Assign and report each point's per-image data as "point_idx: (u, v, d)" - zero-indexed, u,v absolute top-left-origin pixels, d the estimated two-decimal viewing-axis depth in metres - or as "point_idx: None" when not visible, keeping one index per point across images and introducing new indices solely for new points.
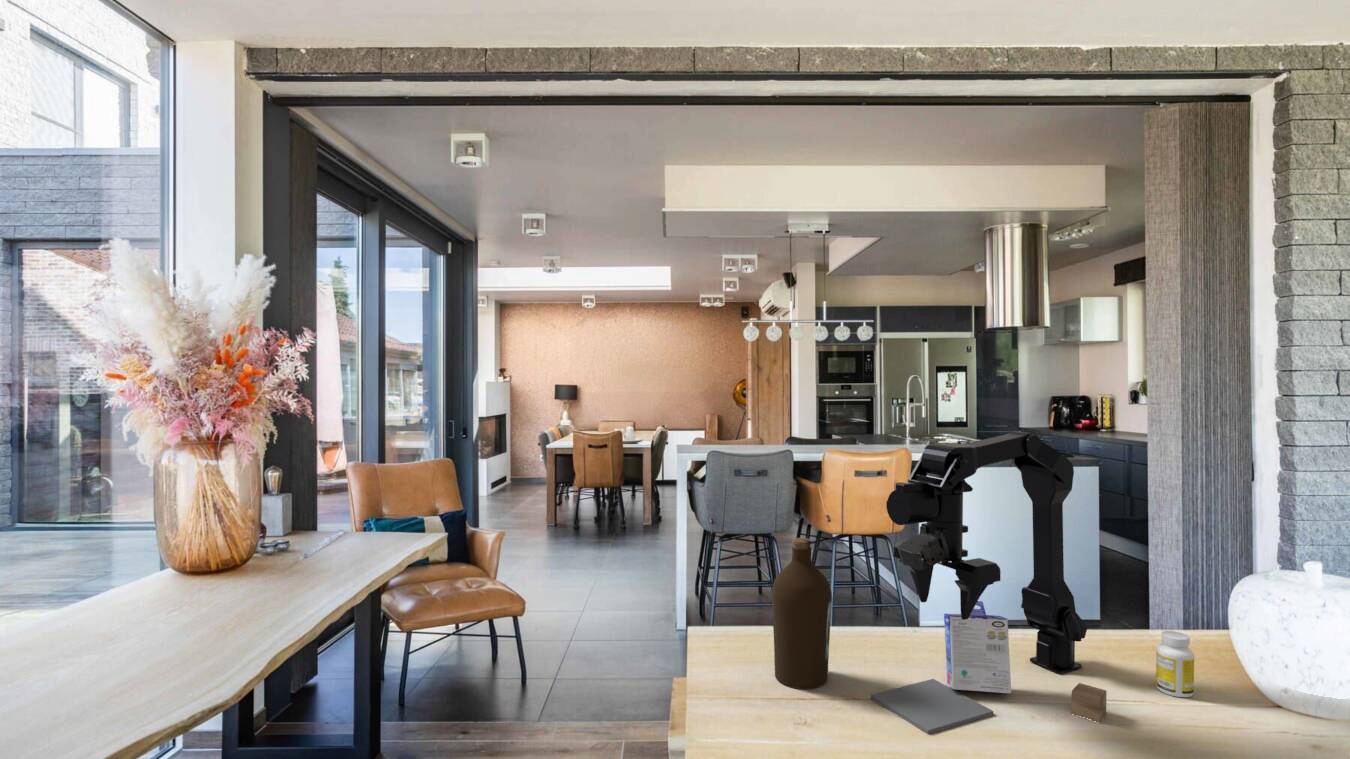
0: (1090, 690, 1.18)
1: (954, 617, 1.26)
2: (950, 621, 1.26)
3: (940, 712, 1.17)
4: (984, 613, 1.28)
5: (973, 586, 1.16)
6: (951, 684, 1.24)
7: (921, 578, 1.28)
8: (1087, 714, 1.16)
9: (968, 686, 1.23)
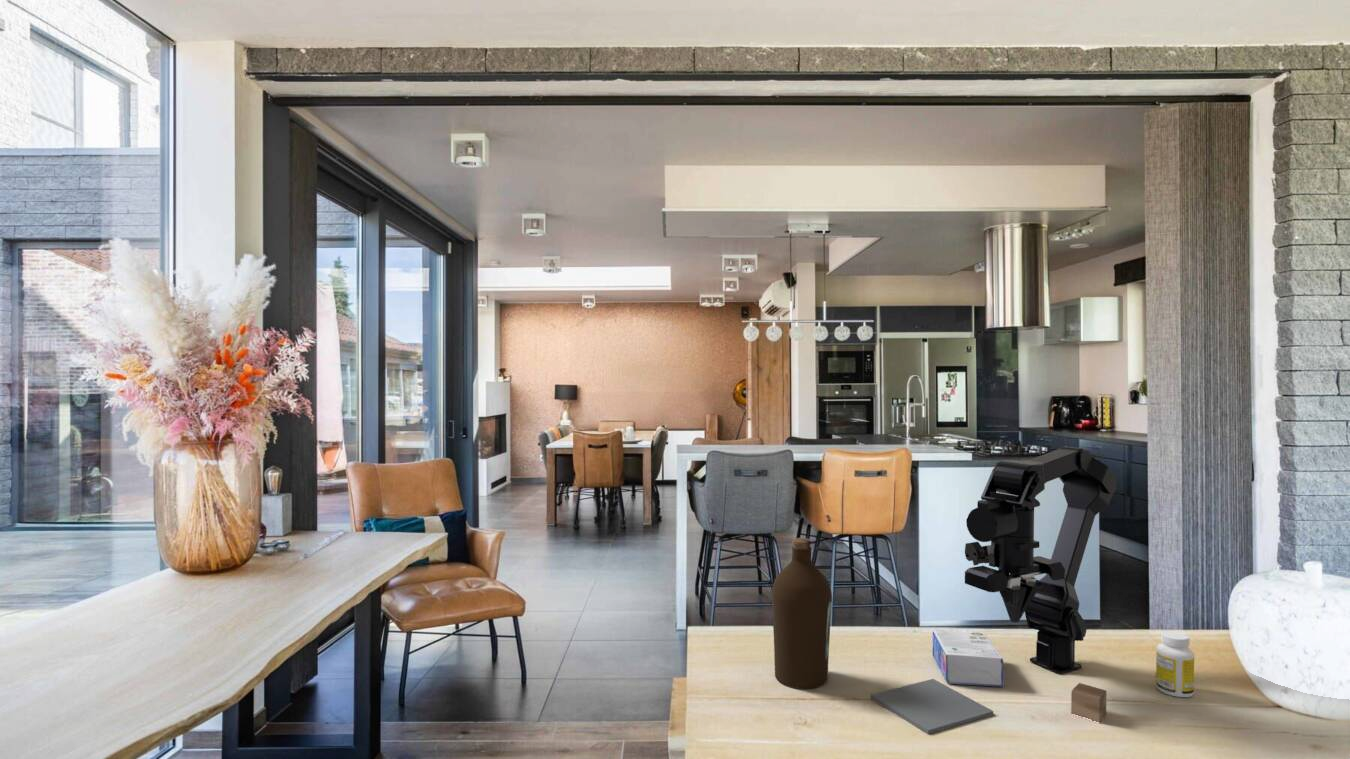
0: (1090, 690, 1.18)
1: (937, 630, 1.40)
2: (934, 631, 1.39)
3: (940, 712, 1.17)
4: None
5: None
6: (945, 656, 1.29)
7: None
8: (1087, 714, 1.16)
9: (961, 654, 1.29)
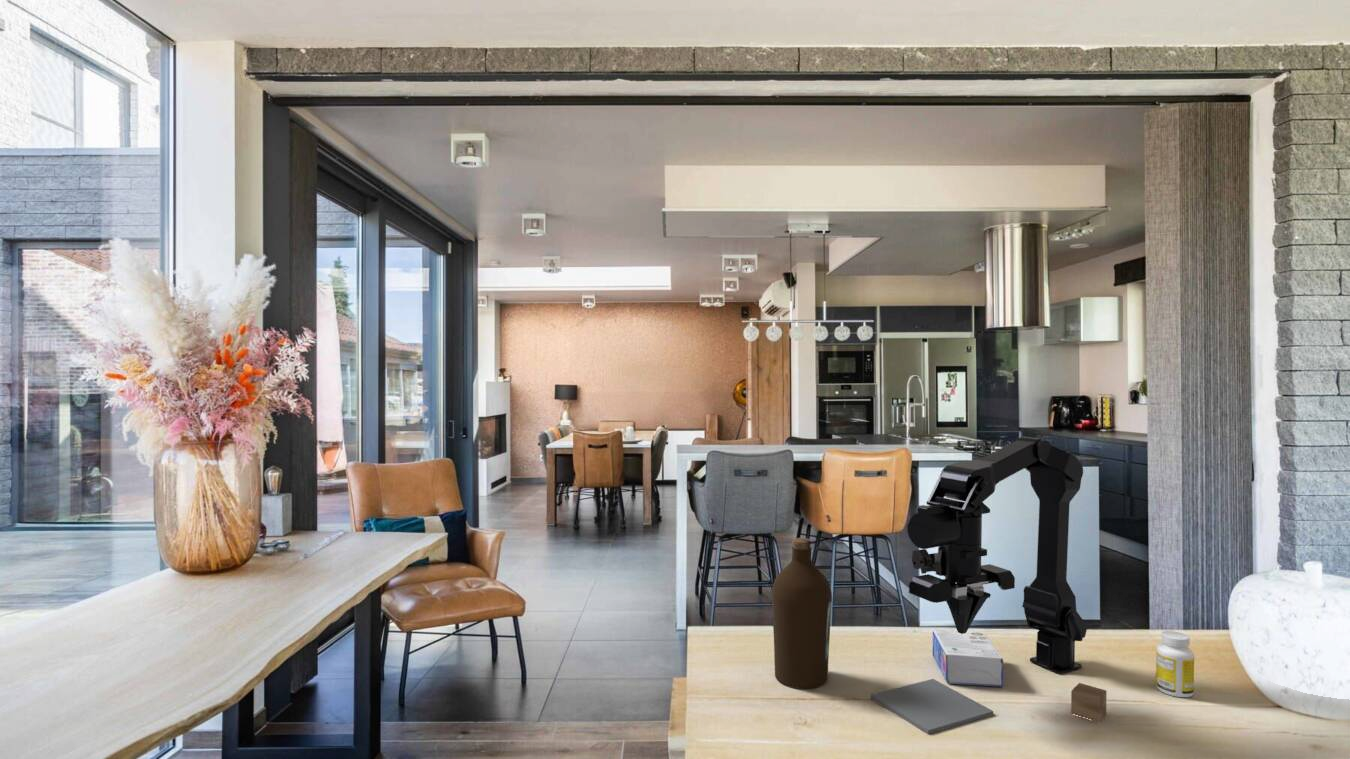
0: (1090, 690, 1.18)
1: (937, 630, 1.40)
2: (934, 631, 1.39)
3: (940, 712, 1.17)
4: None
5: None
6: (945, 656, 1.29)
7: None
8: (1087, 714, 1.16)
9: (961, 654, 1.29)
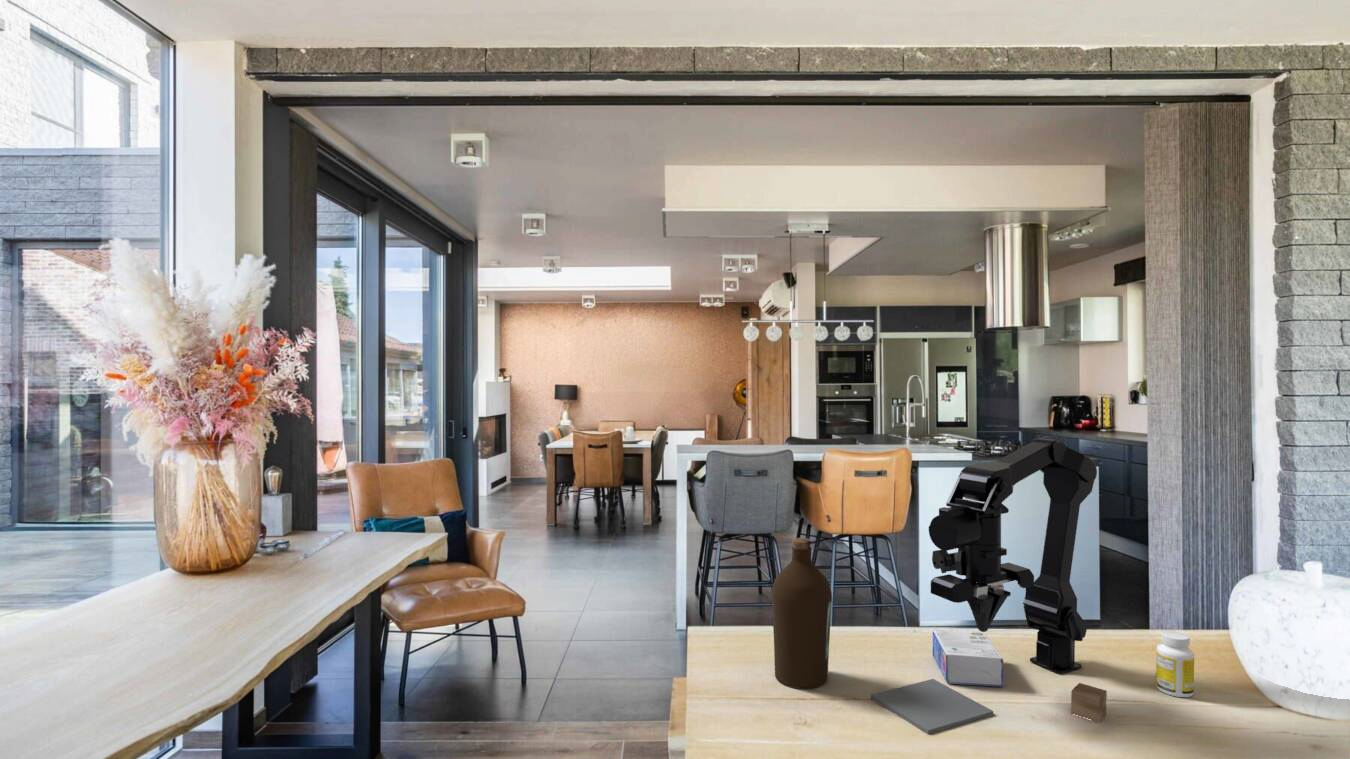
0: (1090, 690, 1.18)
1: (937, 630, 1.40)
2: (934, 631, 1.39)
3: (940, 712, 1.17)
4: None
5: None
6: (945, 656, 1.29)
7: None
8: (1087, 714, 1.16)
9: (961, 654, 1.29)
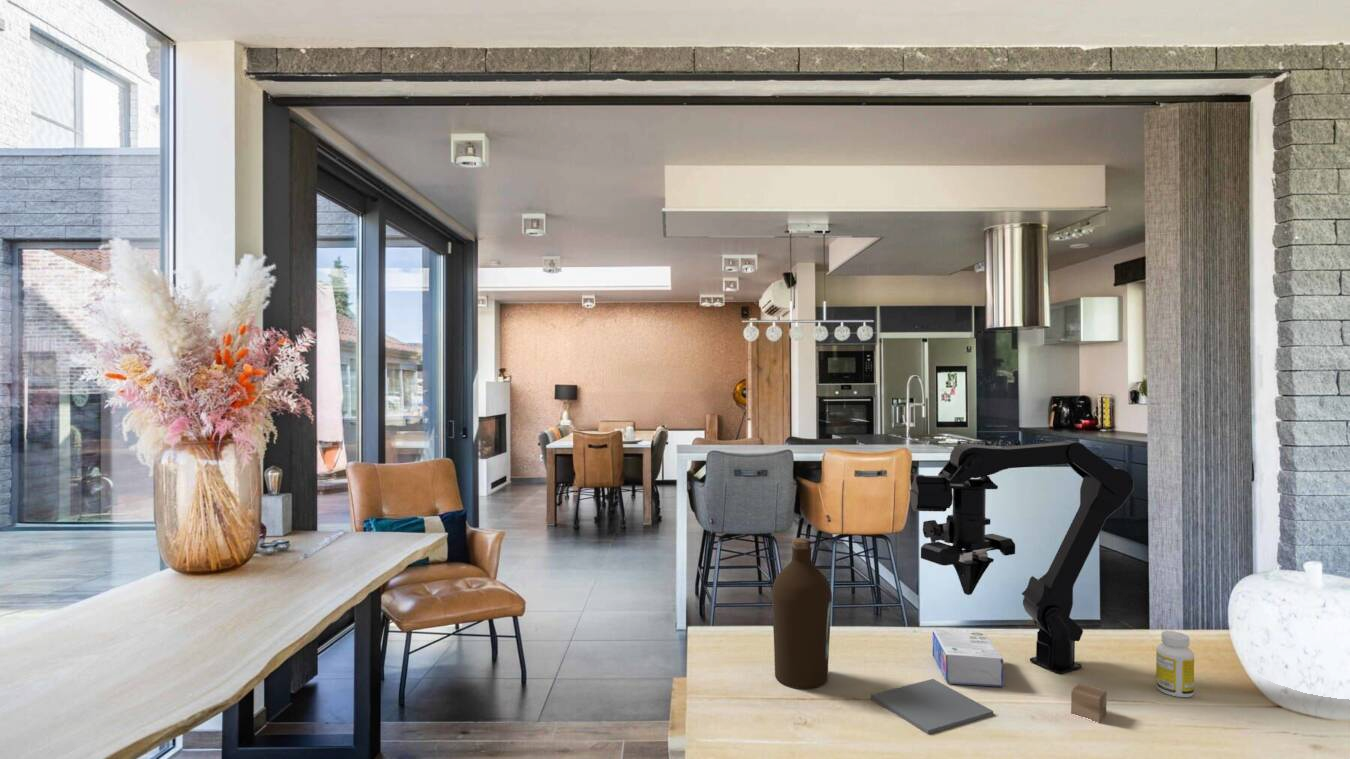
0: (1090, 690, 1.18)
1: (937, 630, 1.40)
2: (934, 631, 1.39)
3: (940, 712, 1.17)
4: None
5: None
6: (945, 656, 1.29)
7: None
8: (1087, 714, 1.16)
9: (961, 654, 1.29)
